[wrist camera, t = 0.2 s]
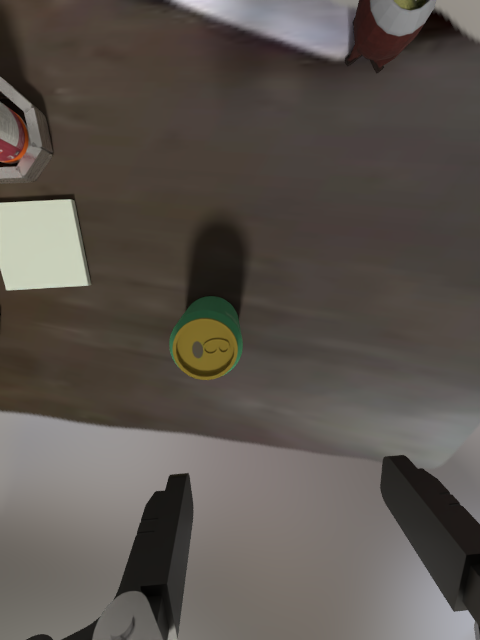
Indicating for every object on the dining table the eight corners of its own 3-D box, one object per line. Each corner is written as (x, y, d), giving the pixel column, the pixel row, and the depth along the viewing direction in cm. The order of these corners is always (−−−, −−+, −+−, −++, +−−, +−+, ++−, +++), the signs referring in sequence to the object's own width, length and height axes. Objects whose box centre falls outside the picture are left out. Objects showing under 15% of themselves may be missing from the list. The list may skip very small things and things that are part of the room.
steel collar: (-50, 89, 30) (-69, 77, 28) (39, 85, 30) (26, 74, 29) (-23, 184, 33) (-39, 180, 31) (59, 180, 33) (48, 176, 31)
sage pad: (-13, 204, 33) (-19, 203, 33) (74, 200, 34) (70, 199, 33) (11, 289, 36) (6, 290, 35) (91, 284, 36) (88, 285, 36)
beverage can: (181, 297, 37) (161, 316, 26) (236, 292, 38) (240, 309, 26) (188, 348, 39) (172, 388, 28) (240, 344, 40) (246, 381, 28)
